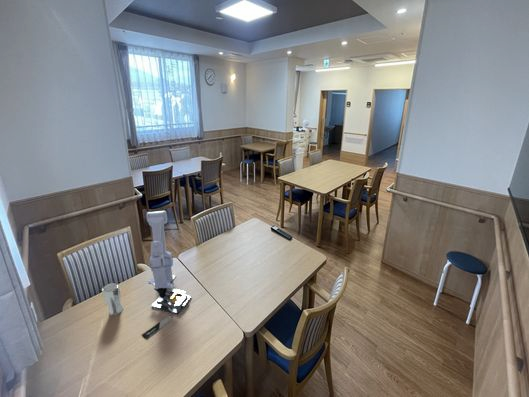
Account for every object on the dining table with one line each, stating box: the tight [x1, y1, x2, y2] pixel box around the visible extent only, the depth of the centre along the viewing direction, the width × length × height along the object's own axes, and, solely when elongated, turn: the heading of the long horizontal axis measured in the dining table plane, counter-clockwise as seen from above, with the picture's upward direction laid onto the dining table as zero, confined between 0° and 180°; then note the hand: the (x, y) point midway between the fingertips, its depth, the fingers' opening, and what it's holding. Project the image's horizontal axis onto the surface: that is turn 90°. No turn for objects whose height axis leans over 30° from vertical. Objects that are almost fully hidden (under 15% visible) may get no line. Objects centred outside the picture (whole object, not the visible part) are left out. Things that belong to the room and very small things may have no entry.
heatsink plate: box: [151, 288, 192, 316], centre depth 133 cm, size 16×12×4 cm
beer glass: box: [101, 282, 124, 316], centre depth 125 cm, size 7×7×15 cm
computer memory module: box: [141, 314, 174, 340], centre depth 119 cm, size 15×1×4 cm
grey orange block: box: [170, 293, 189, 308], centre depth 131 cm, size 8×4×4 cm, turn 73°
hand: (163, 296), depth 134 cm, fingers closed
